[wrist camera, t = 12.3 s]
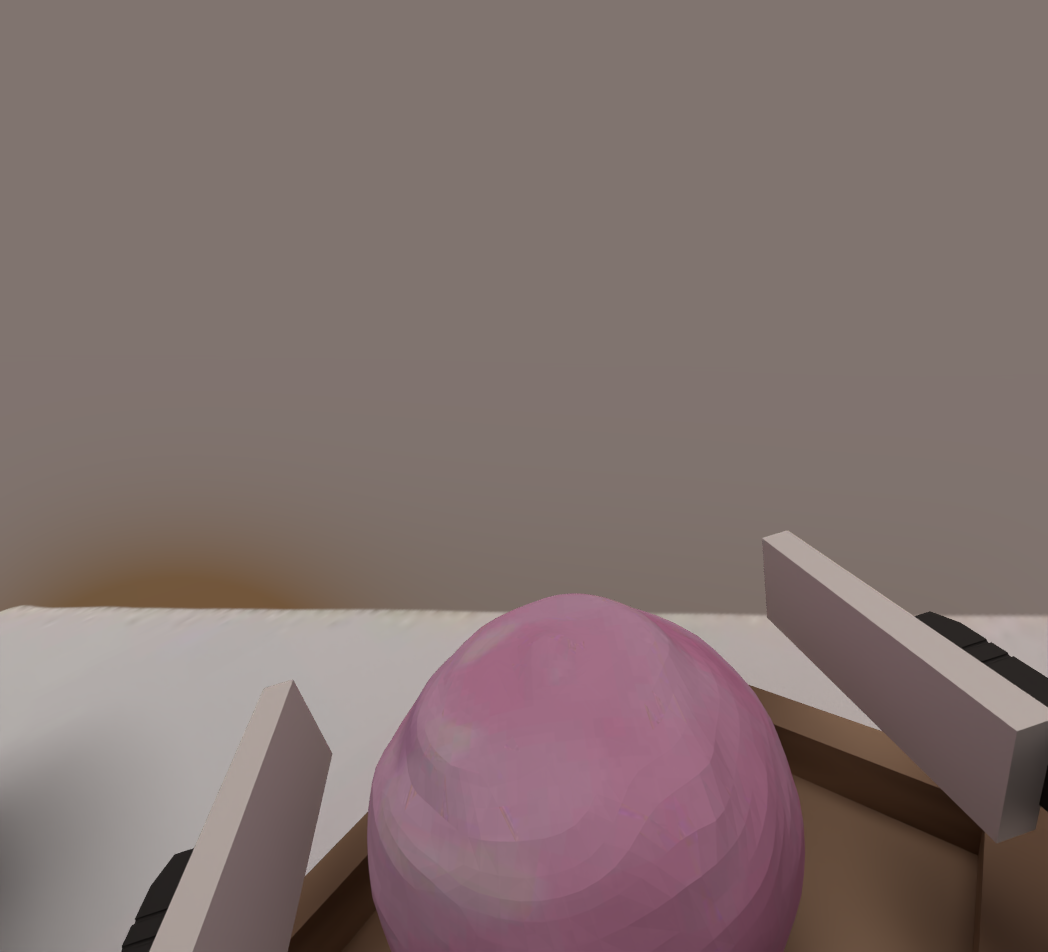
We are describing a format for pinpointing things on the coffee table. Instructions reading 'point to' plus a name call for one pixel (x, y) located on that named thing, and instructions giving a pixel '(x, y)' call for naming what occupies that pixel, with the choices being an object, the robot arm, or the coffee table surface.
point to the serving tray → (815, 858)
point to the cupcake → (585, 795)
